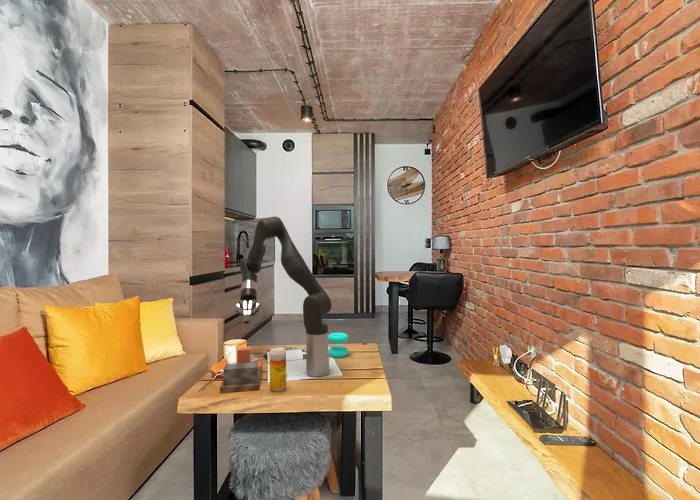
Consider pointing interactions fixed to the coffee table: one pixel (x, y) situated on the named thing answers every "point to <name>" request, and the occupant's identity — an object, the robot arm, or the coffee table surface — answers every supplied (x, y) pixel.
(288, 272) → the robot arm
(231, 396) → the coffee table surface
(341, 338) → the donuts
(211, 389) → the coffee table surface
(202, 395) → the coffee table surface
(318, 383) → the coffee table surface
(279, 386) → the beer glass
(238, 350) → the reddish brown block
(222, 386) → the grey and brown block
